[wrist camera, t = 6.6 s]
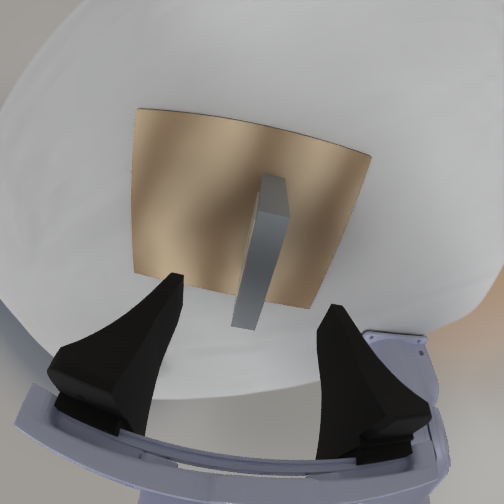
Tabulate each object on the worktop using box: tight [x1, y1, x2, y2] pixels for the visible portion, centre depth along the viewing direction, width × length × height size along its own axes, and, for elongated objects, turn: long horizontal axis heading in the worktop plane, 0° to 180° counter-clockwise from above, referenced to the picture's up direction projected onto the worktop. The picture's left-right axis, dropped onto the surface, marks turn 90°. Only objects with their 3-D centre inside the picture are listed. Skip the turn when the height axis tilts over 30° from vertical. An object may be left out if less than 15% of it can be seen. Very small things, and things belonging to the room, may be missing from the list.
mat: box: [131, 109, 372, 309], centre depth 20 cm, size 16×14×1 cm
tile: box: [231, 173, 291, 330], centre depth 17 cm, size 2×8×6 cm, turn 169°
